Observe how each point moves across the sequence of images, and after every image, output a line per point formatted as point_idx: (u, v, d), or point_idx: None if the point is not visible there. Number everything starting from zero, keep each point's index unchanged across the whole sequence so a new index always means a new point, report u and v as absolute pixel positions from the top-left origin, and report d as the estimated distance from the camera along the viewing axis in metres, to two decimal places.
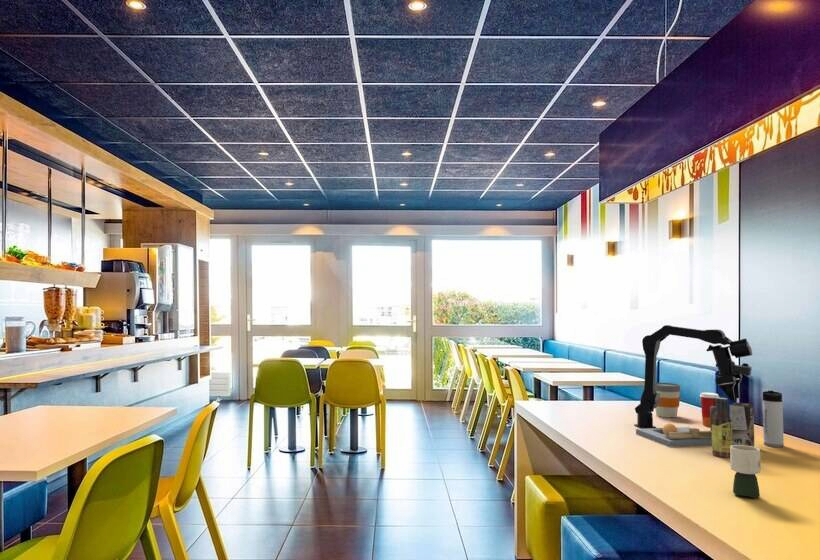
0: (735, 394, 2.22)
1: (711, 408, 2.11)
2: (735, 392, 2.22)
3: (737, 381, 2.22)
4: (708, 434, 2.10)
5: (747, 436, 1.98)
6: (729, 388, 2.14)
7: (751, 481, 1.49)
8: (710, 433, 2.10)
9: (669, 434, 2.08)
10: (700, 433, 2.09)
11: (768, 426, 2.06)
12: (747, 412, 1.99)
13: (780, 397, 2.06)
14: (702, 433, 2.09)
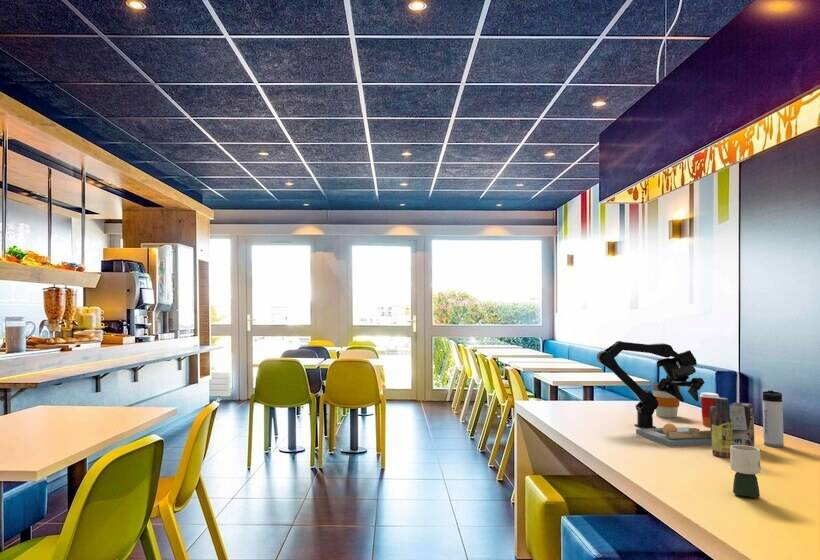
0: (695, 398, 2.27)
1: (711, 408, 2.11)
2: (694, 396, 2.28)
3: (693, 385, 2.30)
4: (708, 434, 2.10)
5: (747, 436, 1.98)
6: (675, 391, 2.28)
7: (751, 481, 1.49)
8: (710, 433, 2.10)
9: (669, 434, 2.08)
10: (700, 433, 2.09)
11: (768, 426, 2.06)
12: (747, 412, 1.99)
13: (780, 397, 2.06)
14: (702, 433, 2.09)
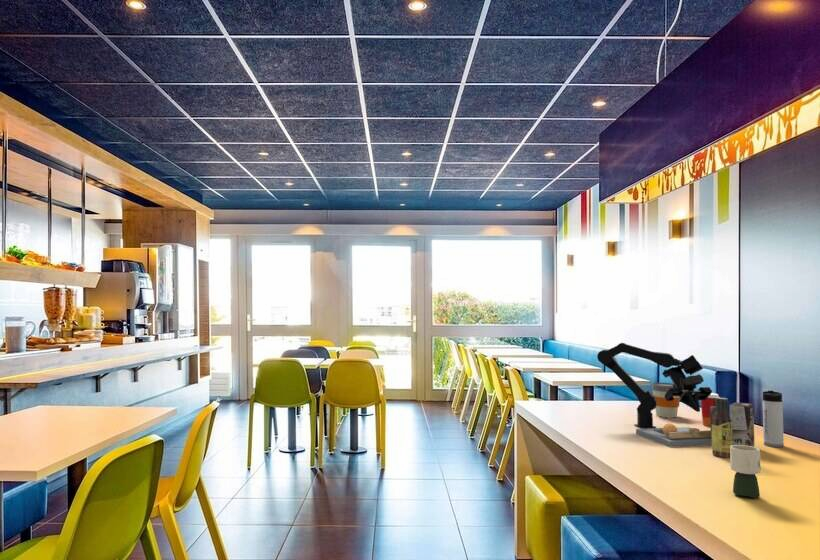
0: None
1: (711, 408, 2.11)
2: None
3: (694, 395, 2.25)
4: (708, 434, 2.10)
5: (747, 436, 1.98)
6: (689, 400, 2.24)
7: (751, 481, 1.49)
8: (710, 433, 2.10)
9: (669, 434, 2.08)
10: (700, 433, 2.09)
11: (768, 426, 2.06)
12: (747, 412, 1.99)
13: (780, 397, 2.06)
14: (702, 433, 2.09)
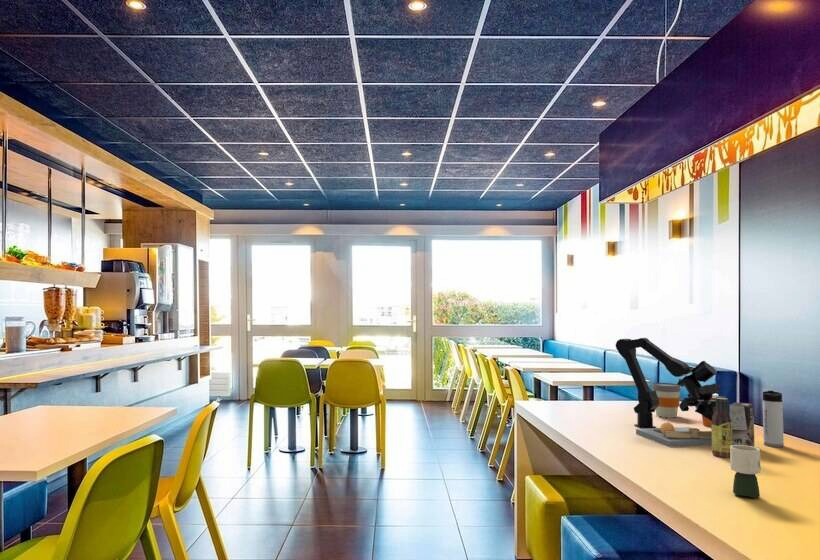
0: None
1: (713, 409, 2.10)
2: None
3: (710, 405, 2.15)
4: (709, 435, 2.09)
5: (747, 436, 1.98)
6: (705, 410, 2.15)
7: (751, 481, 1.49)
8: (711, 434, 2.09)
9: (666, 433, 2.10)
10: (700, 433, 2.09)
11: (768, 426, 2.06)
12: (747, 412, 1.99)
13: (780, 397, 2.06)
14: (702, 433, 2.09)
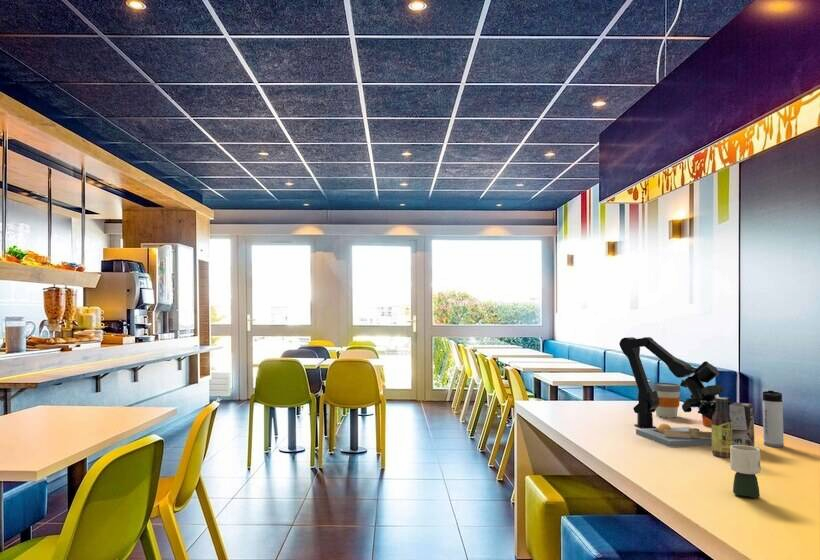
0: None
1: (715, 409, 2.09)
2: None
3: (713, 406, 2.14)
4: (710, 436, 2.08)
5: (747, 436, 1.98)
6: (708, 411, 2.13)
7: (751, 481, 1.49)
8: None
9: (664, 432, 2.12)
10: (700, 433, 2.08)
11: (768, 426, 2.06)
12: (747, 412, 1.99)
13: (780, 397, 2.06)
14: (702, 434, 2.08)
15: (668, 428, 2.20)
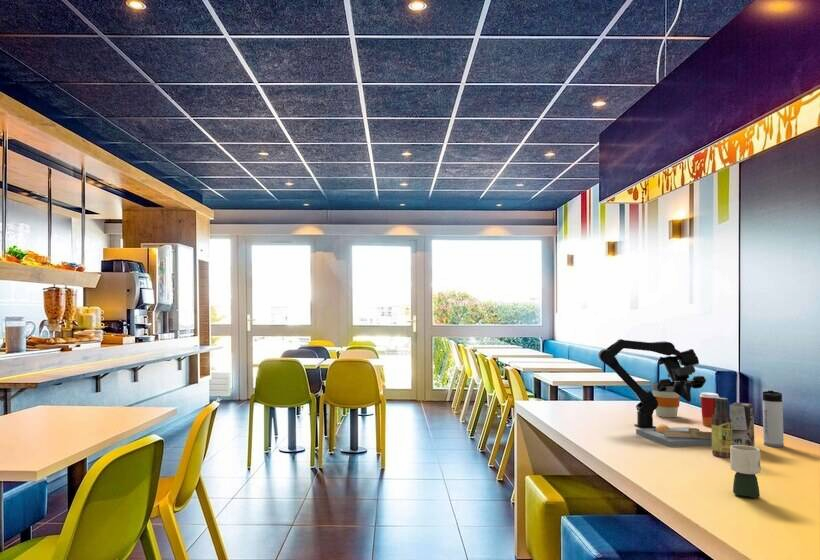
0: None
1: (715, 409, 2.09)
2: None
3: (686, 385, 2.29)
4: (710, 436, 2.08)
5: (747, 436, 1.98)
6: (681, 391, 2.29)
7: (751, 481, 1.49)
8: None
9: (664, 432, 2.12)
10: (700, 433, 2.08)
11: (768, 426, 2.06)
12: (747, 412, 1.99)
13: (780, 397, 2.06)
14: (702, 434, 2.08)
15: None
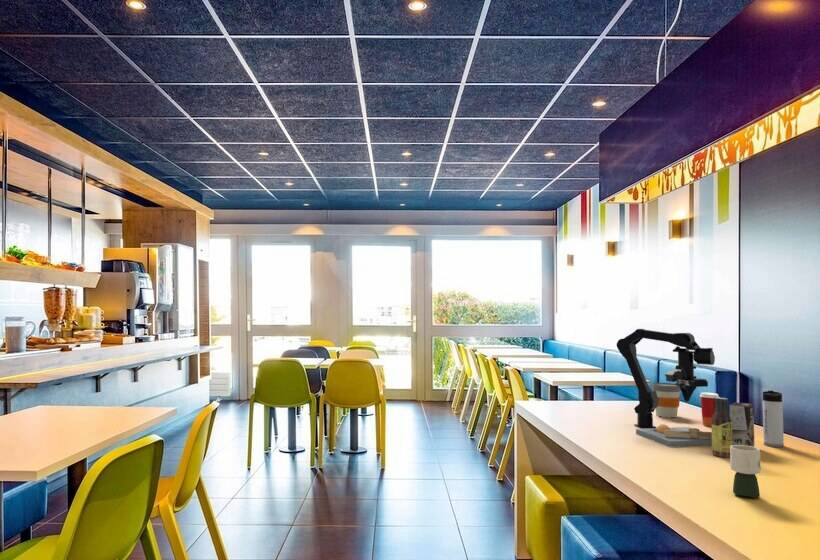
0: None
1: (715, 409, 2.09)
2: None
3: None
4: (710, 436, 2.08)
5: (747, 436, 1.98)
6: None
7: (751, 481, 1.49)
8: None
9: (664, 432, 2.12)
10: (700, 433, 2.08)
11: (768, 426, 2.06)
12: (747, 412, 1.99)
13: (780, 397, 2.06)
14: (702, 434, 2.08)
15: None
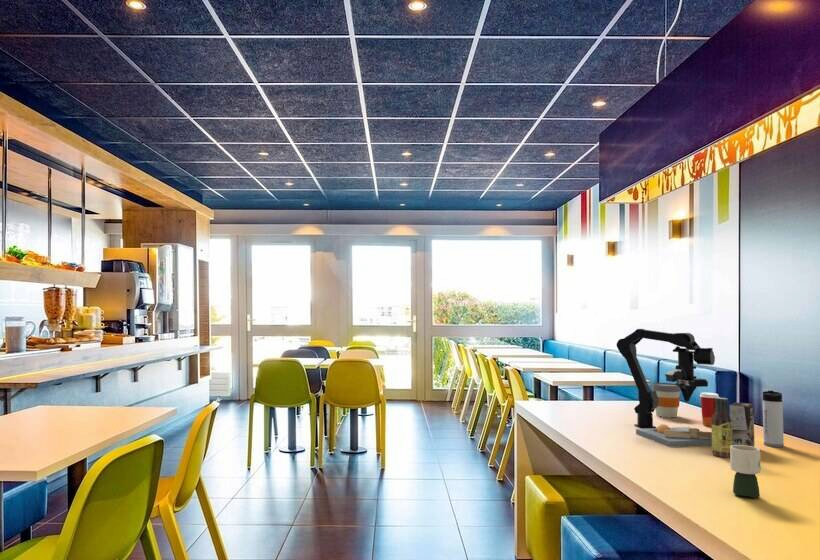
0: None
1: (715, 409, 2.09)
2: None
3: None
4: (710, 436, 2.08)
5: (747, 436, 1.98)
6: None
7: (751, 481, 1.49)
8: None
9: (664, 432, 2.12)
10: (700, 433, 2.08)
11: (768, 426, 2.06)
12: (747, 412, 1.99)
13: (780, 397, 2.06)
14: (702, 434, 2.08)
15: None
